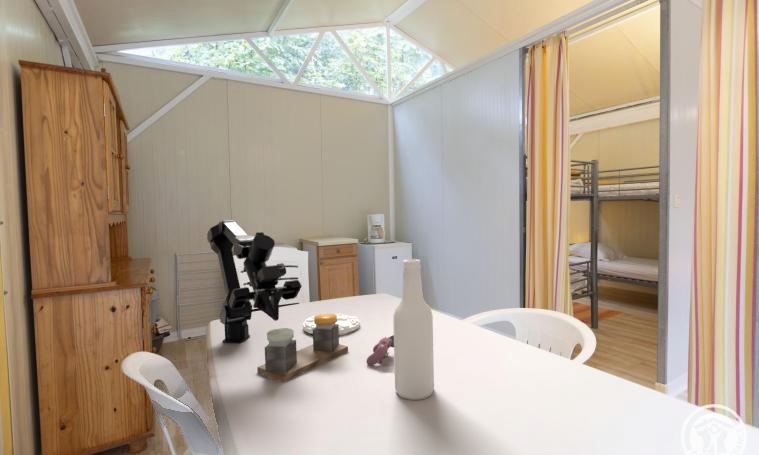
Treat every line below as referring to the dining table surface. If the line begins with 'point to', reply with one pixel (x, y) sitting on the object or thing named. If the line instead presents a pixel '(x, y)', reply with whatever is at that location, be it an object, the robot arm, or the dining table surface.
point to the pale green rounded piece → (280, 337)
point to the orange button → (325, 321)
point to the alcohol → (413, 338)
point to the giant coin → (343, 322)
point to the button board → (301, 355)
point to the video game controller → (379, 351)
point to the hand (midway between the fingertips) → (276, 319)
